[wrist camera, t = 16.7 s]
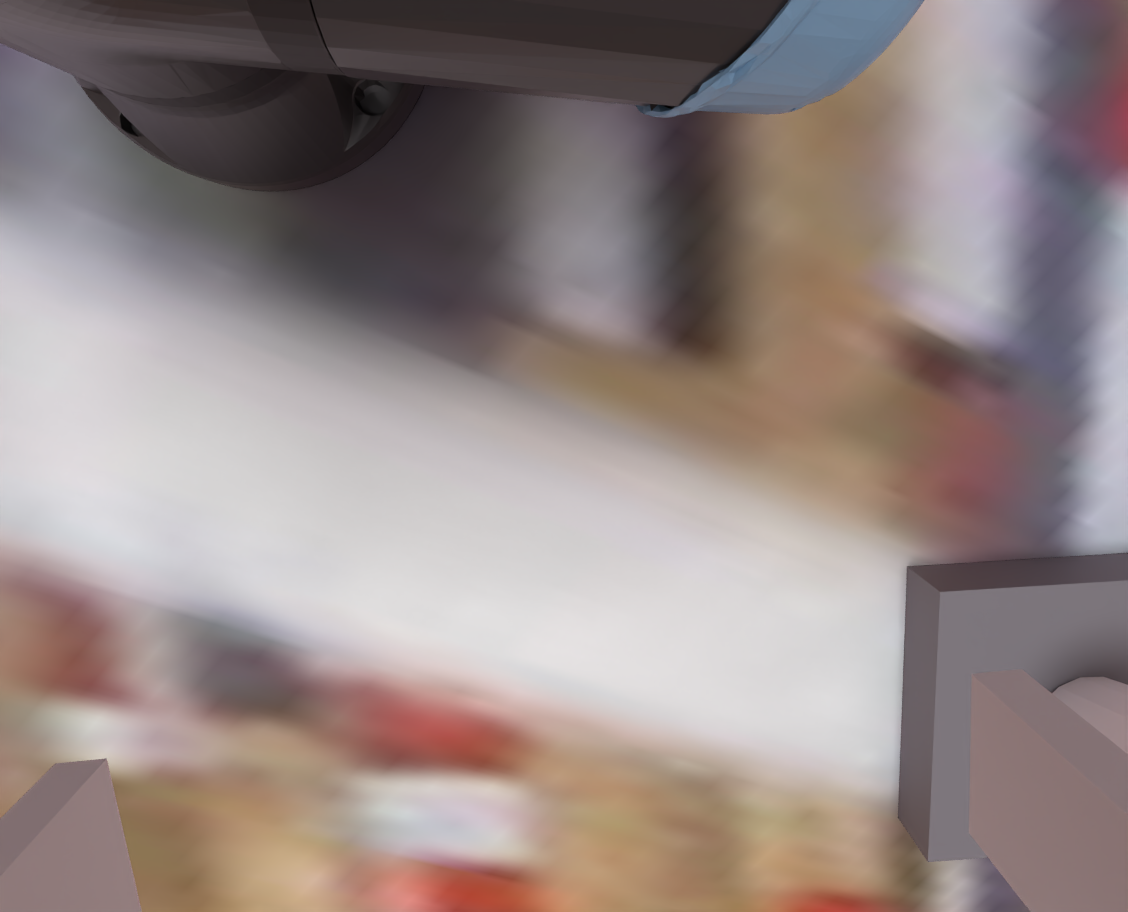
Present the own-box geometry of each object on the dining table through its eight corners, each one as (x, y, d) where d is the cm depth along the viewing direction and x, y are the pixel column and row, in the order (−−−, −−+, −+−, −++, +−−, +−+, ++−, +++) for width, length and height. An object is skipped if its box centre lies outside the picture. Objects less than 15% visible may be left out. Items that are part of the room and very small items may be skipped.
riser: (901, 562, 41) (940, 591, 37) (1177, 545, 41) (1243, 573, 37) (893, 810, 44) (927, 861, 40) (1150, 793, 44) (1209, 842, 40)
